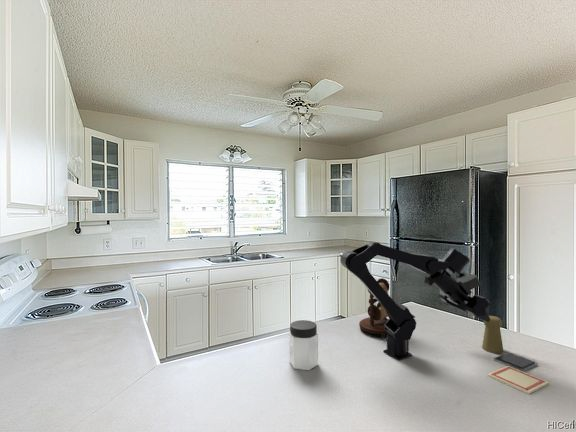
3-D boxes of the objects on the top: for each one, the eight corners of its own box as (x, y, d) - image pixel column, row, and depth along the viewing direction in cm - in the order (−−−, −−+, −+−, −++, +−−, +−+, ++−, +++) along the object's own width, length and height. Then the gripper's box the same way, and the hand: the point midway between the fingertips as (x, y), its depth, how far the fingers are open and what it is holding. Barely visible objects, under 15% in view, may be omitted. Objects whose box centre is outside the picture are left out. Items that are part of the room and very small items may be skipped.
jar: (286, 358, 98) (286, 321, 97) (310, 355, 100) (310, 318, 100) (295, 372, 89) (295, 331, 89) (321, 368, 91) (321, 328, 91)
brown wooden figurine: (385, 341, 110) (385, 285, 110) (351, 330, 121) (351, 279, 121) (405, 331, 120) (405, 279, 120) (372, 321, 131) (372, 274, 131)
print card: (528, 394, 78) (528, 391, 78) (487, 375, 87) (487, 373, 87) (548, 383, 82) (548, 381, 82) (507, 367, 91) (507, 365, 91)
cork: (503, 355, 99) (503, 321, 99) (481, 350, 102) (481, 317, 102) (504, 348, 104) (504, 316, 103) (482, 344, 107) (482, 312, 107)
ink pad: (523, 371, 88) (523, 368, 88) (493, 360, 96) (493, 357, 96) (537, 365, 92) (537, 362, 92) (508, 354, 99) (508, 351, 99)
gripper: (483, 271, 93) (518, 306, 94) (446, 262, 111) (475, 291, 112) (459, 299, 92) (494, 333, 93) (425, 284, 111) (455, 313, 112)
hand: (478, 316), depth 102 cm, fingers open, 9 cm apart
